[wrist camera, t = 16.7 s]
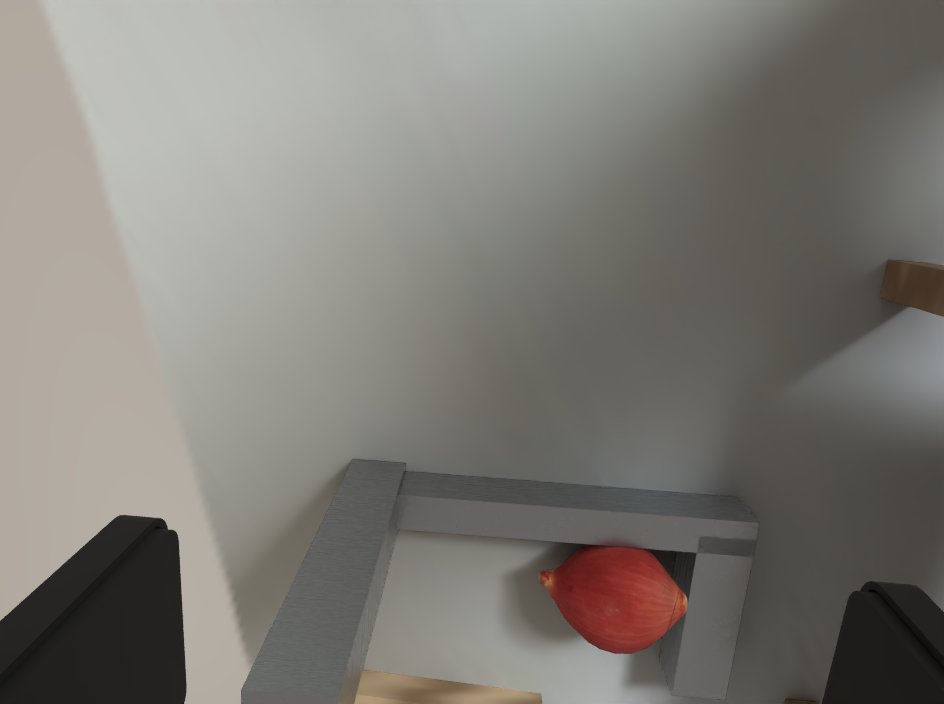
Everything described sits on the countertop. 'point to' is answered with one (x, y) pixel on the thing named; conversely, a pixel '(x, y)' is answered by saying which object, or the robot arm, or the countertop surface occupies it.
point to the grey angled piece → (508, 516)
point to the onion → (616, 597)
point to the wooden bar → (433, 691)
